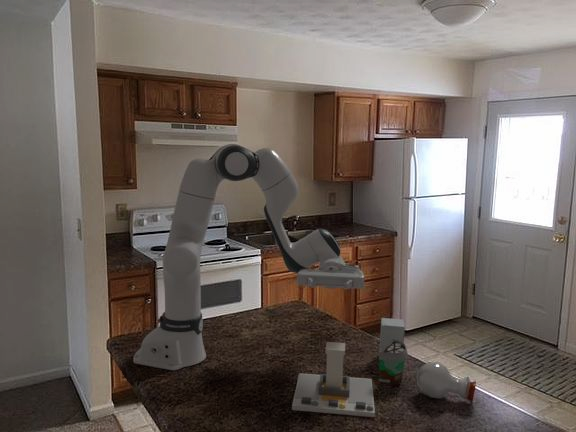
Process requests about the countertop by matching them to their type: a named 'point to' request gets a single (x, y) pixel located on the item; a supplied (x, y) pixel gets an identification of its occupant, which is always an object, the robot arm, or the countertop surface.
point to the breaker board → (334, 396)
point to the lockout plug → (334, 364)
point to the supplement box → (391, 332)
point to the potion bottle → (443, 382)
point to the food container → (392, 363)
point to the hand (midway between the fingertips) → (329, 286)
